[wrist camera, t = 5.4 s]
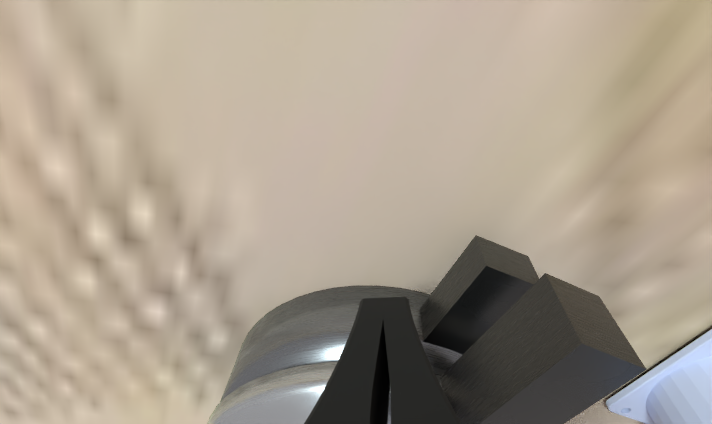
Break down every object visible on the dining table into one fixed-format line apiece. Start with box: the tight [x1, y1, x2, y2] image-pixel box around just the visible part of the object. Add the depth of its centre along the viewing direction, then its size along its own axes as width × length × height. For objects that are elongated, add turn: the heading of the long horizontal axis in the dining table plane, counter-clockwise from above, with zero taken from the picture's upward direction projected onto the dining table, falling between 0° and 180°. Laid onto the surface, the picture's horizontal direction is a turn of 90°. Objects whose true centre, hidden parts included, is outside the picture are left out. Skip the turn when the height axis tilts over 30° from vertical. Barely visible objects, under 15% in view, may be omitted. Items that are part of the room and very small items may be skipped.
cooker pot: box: [220, 236, 539, 402], centre depth 19 cm, size 20×16×4 cm
